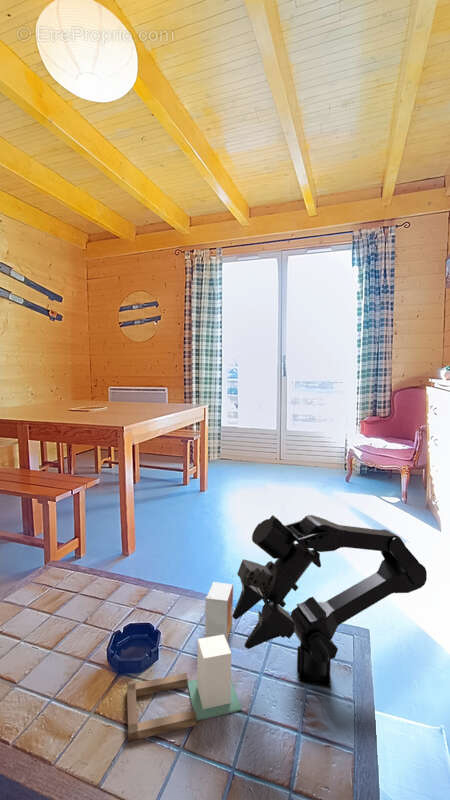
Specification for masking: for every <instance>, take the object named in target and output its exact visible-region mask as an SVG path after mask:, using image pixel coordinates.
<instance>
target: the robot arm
mask: <svg viewBox="0 0 450 800" xmlns="http://www.w3.org/2000/svg"><path fill="white" fill-rule="evenodd" d="M251 540H252V543H254V544H255V545H256V546H257V547H259V549H261V550H262V551H263V552H265V553H266V554H267V555H269V556H270V557H271V558H272V559H274V560H275V561H274V562H273V561H272V560H270V561H268V562H266V564H265V565H263V564H260V563H258V562H254V561H251V560H248V559H244V558H243V559H242V561H241V563H240V566H239V569H238V572H237V573H236V575H237V577H239V579H240V583H241V589H242V590H241V591H240V596H239V598H238V601H237V602H236V606H235V608H234V610H233V612H232V619H235V620H238V619H239V618H241V617H242V616H243V615H244V614H246V613H247V612H248V611H249V610H251V609H252V608H253V607H255V606H256V605H257V604H258V603H259V602H261V601H263V603H264V604H263V605H262V609H261V611H260V610H259V611H257V613H258V622H257V623H256V625H255V627H254V628H253V630H252V631H251V632H250V634H249V636H248V637H247V639H246V641H245V643H244V645H243V646H244V648H246V649H247V650H250V649H252V648H254V647H257V646H259V645H261V644H263V643H265V642H268V641H270V640H273V639H276V638H279V637H281V638H283V639H284V638H285V637H286V638H287V639H291V638H292V636H293V635H294V634H295V635H296V637H297V639H298V641H300V643H299V644H300V645H298V646H297V652H296V656H297V657H296V672H297V673H298V675H299V676H298V679H299V680H298V681H299V682H300V683H301V684H308V685H313V686H320V687H323V688H324V687H325V688H331V687H332V680H331V679H332V678H331V664H332V663H331V661H332V659H335V658H336V656H337V653H338V650H339V648H338V647H337V646H336V644H335V643H334V642H333V638H334V636H335V633H336V632H337V629H338V627H339V626H340V625H342V624H344V623H345V622H347V621H348V620H350V619H351V618H353V617H354V616H356V615H358V614H360V613H362V612H363V611H365V610H367V609H369V608H370V607H372V606H374V605H375V604H376V603H378V602H380V601H382V600H383V599H385V598H387V597H388V596H390V595H392V594H409V593H412V592H415V591H417V590H419V589H421V588H422V587H424V586H425V584H426V581H427V569H426V566H424V565H423V564H422V563H420V562H419V560H418V559H417V558H416V557H415V555H414V554H413V553H412V551H410V550H409V548H408V547H407V546H406V544H405V542H404V541H403V540H402V538H401V537H400V536H398V535H397V534H395V533H394V532H393V531H391V530H388V529H375V528H368V527H358V526H351V525H342V524H338V523H334V522H333V521H330V520H328V519H326V518H322V517H320V516H316V515H313V514H310V515H309V514H308V515H306V516H304V517H303V518H302V519H301V520H299V521H295V522H291V523H288V524H285V525H284V524H283V523H282V521H280V520H279V519H278V518H277V517H276V516H275V515H274V514H273V515H271V516H270V518H268V519H267V518H266V519H264V520H262V521H261V522H260V523H258V524H257V525H256V527H255V528H254V530H253V533H252V536H251ZM296 542H297V543H296ZM340 548H341V549H343V548H348V549H359V550H368V551H376V552H380V554H381V555H382V557H383V560H382V561H381V562H380V564H379V567H378V570H376V572H375V573H372V574H371V575H369V576H368V577H366V578H364V579H361V581H359V582H356V583H355V584H353V585H352V586H350V587H348V588H346V589H345V590H343V591H342V592H339V593H338V594H337V595H335V596H333V597H331V598H329V599H328V600H326V601H323V602H322V601H317V600H316V599H315V597H314V596H311V597H309V598H307V599H306V600H304V601H303V602H300V603H297V604H296V607H295V608H294V609H293V610H291V613H289V612H288V611H287V610H286V609H284V608H285V606H286V605H287V603H286V602H285V598H286V597H287V595H289V594H290V592H291V590H293V591H294V592H296V591H297V590H298V589H299V586H298V585H297V582H298V581H299V580H300V578H301V577H302V576H303V575H304V574H305V572H306V571H307V569H308V568H309V567H310V565H311V564H312V563H313V565H315V566H316V567H317V568H321V567H322V562H321V559H320V558H321V554H320V553H327V552H334V551H337V550H338V549H340Z"/></svg>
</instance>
